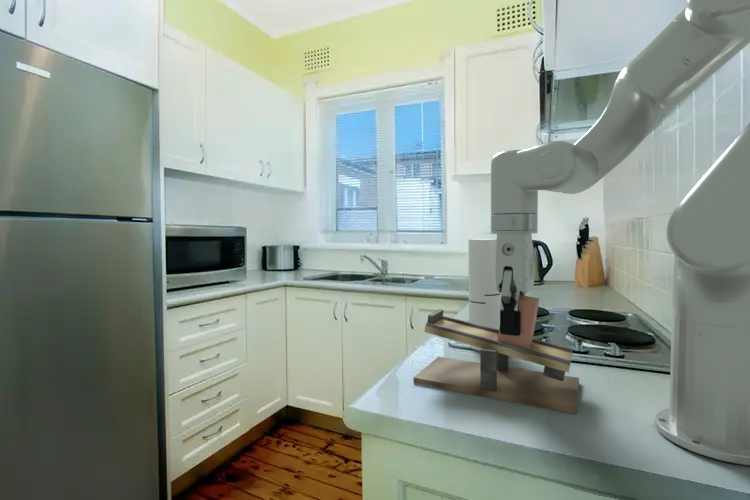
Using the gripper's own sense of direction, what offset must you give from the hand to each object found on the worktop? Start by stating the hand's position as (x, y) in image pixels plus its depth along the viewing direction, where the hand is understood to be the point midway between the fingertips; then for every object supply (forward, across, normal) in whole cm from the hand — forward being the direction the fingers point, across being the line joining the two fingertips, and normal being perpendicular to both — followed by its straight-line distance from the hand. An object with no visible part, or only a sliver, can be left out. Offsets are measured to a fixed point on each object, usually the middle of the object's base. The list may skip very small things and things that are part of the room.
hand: (513, 329), depth 69 cm
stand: (+10, 0, +3) cm, 10 cm away
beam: (+5, 0, +3) cm, 6 cm away
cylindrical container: (+10, +21, +10) cm, 25 cm away
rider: (+2, 0, 0) cm, 2 cm away
